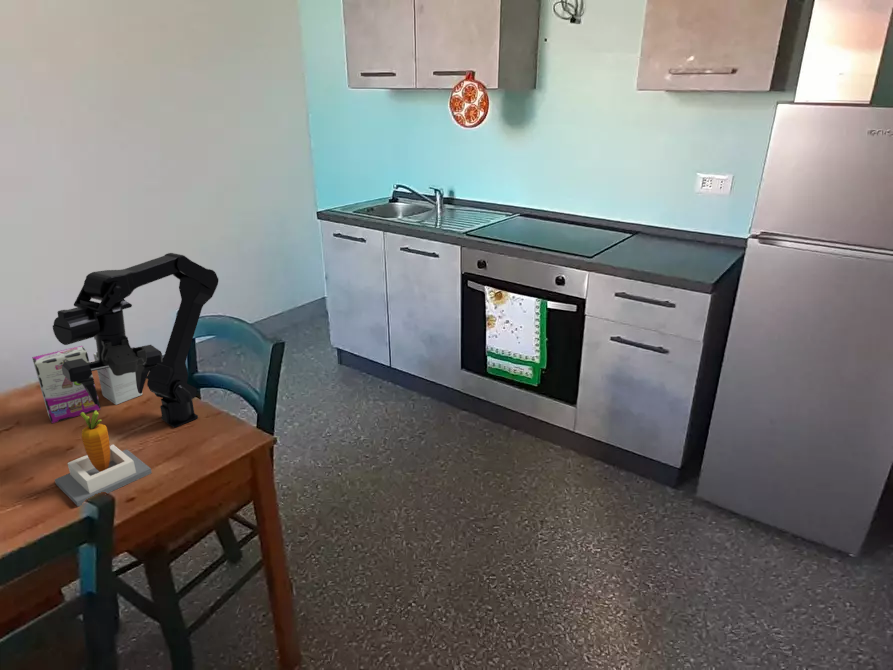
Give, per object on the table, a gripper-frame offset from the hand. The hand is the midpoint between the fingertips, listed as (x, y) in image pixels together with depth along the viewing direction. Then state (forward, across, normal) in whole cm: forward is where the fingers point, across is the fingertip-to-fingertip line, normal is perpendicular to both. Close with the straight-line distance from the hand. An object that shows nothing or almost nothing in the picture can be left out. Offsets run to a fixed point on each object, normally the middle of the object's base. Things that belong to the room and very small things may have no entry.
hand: (118, 398), depth 139 cm
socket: (+14, -7, -8) cm, 17 cm away
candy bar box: (+13, -3, +26) cm, 29 cm away
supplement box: (+12, +9, +26) cm, 30 cm away
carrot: (+13, -7, -8) cm, 16 cm away
